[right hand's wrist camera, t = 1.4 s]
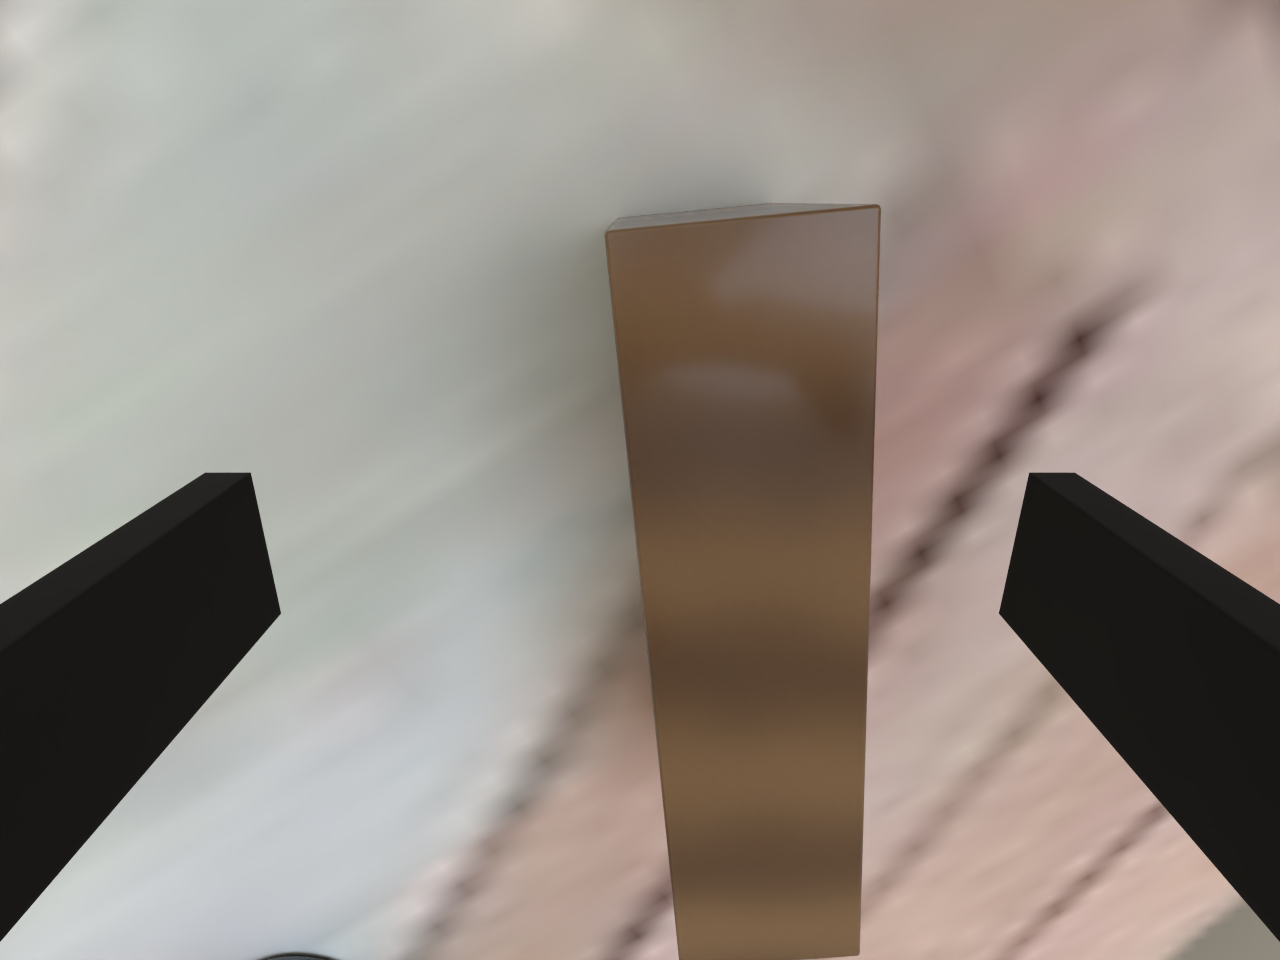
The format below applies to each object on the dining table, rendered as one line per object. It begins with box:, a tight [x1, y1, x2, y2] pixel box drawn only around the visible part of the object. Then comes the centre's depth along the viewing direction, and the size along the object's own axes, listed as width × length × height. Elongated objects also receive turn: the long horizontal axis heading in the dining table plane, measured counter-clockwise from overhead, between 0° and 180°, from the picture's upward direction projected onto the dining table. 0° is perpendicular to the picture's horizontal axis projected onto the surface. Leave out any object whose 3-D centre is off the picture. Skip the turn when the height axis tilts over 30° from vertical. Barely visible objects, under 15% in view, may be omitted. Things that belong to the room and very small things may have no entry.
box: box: [605, 203, 881, 960], centre depth 26 cm, size 24×6×13 cm, turn 5°
